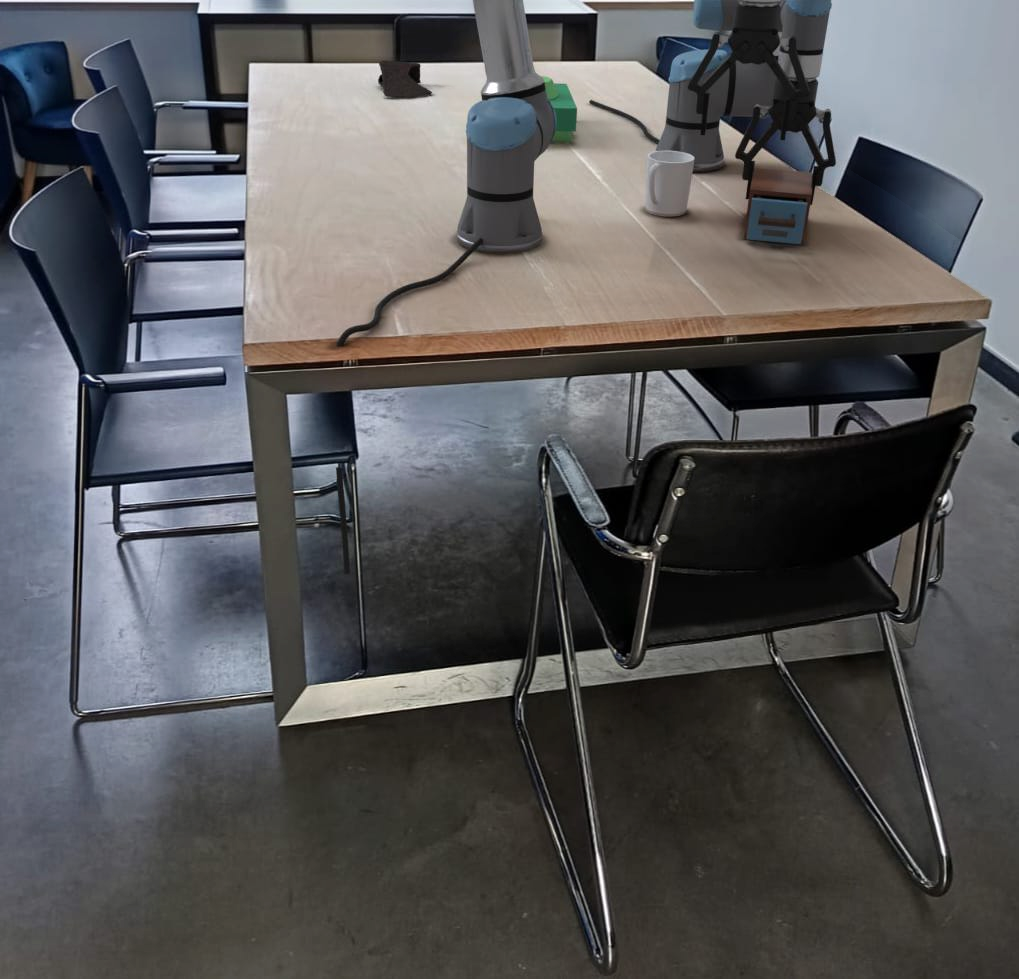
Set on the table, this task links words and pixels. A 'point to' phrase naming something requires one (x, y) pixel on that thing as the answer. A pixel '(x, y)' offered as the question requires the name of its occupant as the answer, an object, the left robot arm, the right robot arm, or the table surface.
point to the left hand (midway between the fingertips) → (742, 136)
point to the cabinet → (781, 188)
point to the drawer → (777, 219)
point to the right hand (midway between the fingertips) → (778, 200)
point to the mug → (668, 182)
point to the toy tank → (562, 110)
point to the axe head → (401, 79)
